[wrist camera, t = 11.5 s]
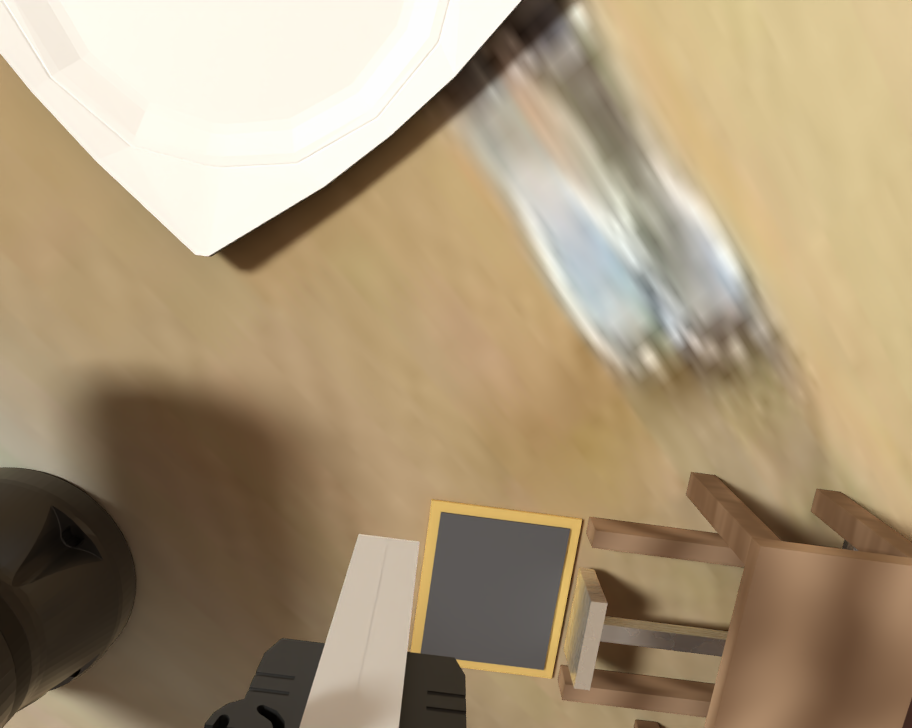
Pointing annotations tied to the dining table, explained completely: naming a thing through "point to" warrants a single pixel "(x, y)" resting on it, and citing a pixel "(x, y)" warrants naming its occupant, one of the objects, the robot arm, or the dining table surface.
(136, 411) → the dining table surface
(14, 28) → the plate
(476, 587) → the mat
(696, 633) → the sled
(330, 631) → the robot arm
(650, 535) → the tunnel
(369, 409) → the dining table surface
